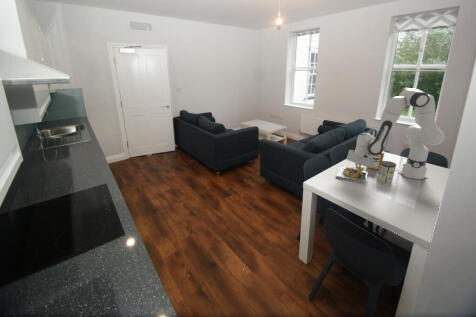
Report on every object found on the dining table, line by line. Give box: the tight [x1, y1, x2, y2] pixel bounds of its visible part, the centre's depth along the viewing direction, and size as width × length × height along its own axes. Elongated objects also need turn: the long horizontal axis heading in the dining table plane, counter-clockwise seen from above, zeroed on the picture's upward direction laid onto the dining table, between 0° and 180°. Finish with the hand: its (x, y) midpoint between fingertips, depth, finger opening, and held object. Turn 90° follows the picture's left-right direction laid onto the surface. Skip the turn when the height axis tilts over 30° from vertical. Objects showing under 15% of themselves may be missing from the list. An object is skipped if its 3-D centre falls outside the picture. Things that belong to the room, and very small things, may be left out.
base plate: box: [335, 166, 369, 185], centre depth 184 cm, size 20×20×6 cm
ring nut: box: [343, 165, 365, 177], centre depth 184 cm, size 13×18×4 cm
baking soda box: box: [366, 150, 385, 172], centre depth 195 cm, size 10×6×16 cm
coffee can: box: [376, 160, 397, 184], centre depth 175 cm, size 10×10×14 cm
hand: (357, 168), depth 189 cm, fingers closed
